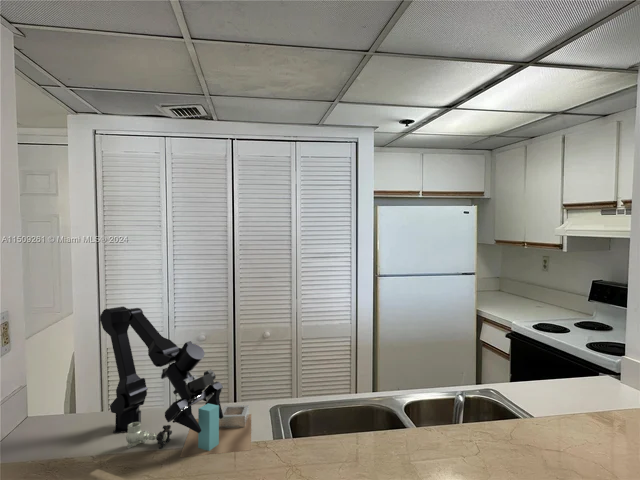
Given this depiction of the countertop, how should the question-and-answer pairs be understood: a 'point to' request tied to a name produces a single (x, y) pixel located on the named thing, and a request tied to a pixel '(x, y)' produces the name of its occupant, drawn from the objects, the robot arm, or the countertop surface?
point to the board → (221, 441)
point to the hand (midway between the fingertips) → (211, 424)
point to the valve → (146, 435)
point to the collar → (234, 416)
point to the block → (208, 426)
